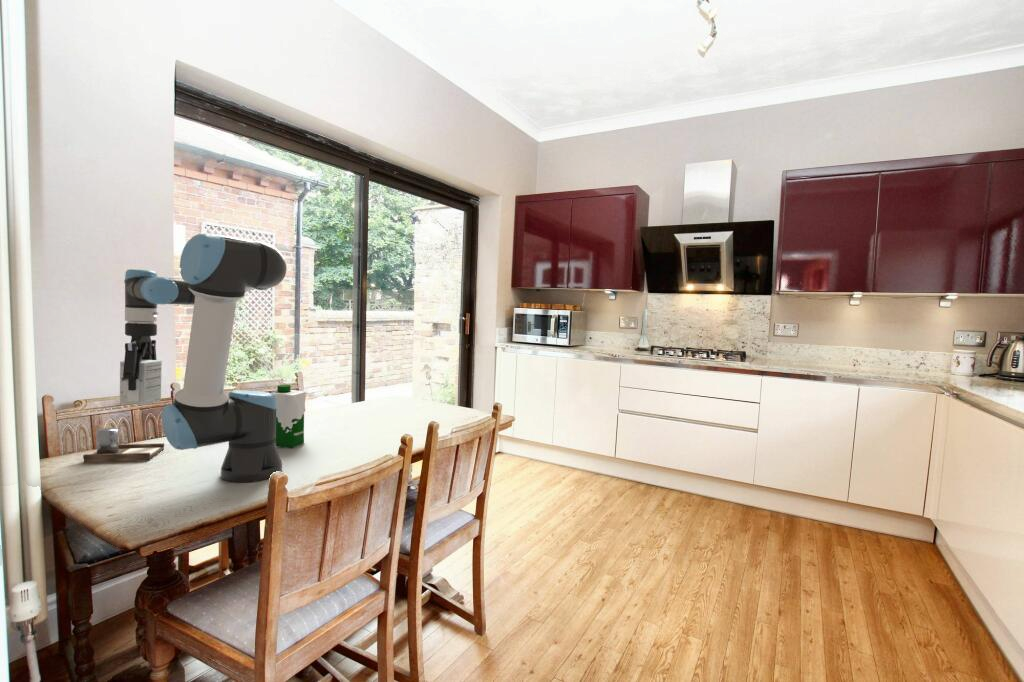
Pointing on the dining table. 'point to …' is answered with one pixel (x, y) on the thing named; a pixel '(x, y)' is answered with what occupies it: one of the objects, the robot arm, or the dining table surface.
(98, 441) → the grey rounded cube
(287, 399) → the milk carton
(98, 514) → the dining table surface
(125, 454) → the wooden tray
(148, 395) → the supplement box
